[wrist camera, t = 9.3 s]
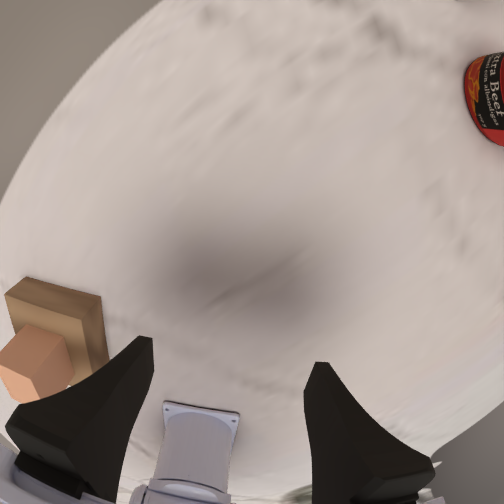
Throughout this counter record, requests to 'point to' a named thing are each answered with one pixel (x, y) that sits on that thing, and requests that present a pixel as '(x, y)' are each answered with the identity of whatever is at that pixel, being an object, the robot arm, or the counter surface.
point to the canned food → (487, 95)
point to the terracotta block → (35, 365)
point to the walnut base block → (62, 321)
